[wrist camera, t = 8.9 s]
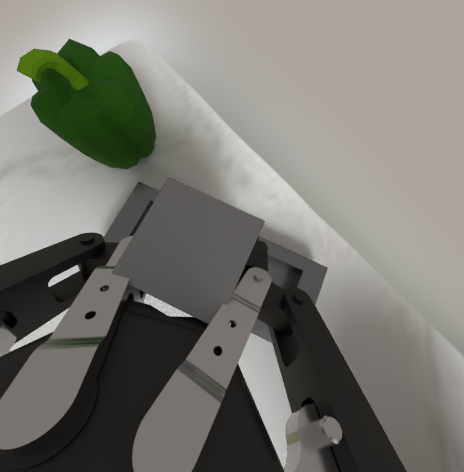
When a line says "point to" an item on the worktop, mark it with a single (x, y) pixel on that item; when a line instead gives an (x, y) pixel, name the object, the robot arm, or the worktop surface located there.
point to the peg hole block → (279, 259)
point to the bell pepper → (91, 103)
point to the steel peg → (189, 250)
